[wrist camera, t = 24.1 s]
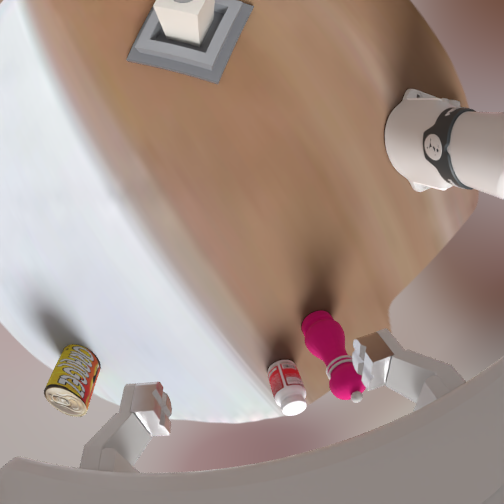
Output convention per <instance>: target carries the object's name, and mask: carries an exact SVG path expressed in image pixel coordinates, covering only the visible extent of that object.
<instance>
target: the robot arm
mask: <svg viewBox="0 0 504 504" xmlns="http://www.w3.org/2000/svg"><path fill="white" fill-rule="evenodd" d="M417 96H418V98H417ZM385 145H386V150H387V154H388V157H389V159H390V161H391V163H392V165H393V166H394V168H395V169H396V170H397V171H398V172H399V173H400V174H401V175H403V176H404V177H405V178H407V179H408V180H409V182H410V184H411V186H412V187H413V189H414V190H415V191H418V192H422V191H424V190H427V189H429V188H431V187H432V188H436V189H440V190H446V189H447V188H450V187H452V186H453V185H454V186H456V187H459V188H463V189H476V190H479V191H482V192H485V193H488V194H490V195H493V196H496V197H498V198H501V199H504V112H476V111H474V110H472V109H469V108H464V107H460V102H459V101H456V100H449V99H446V98H441V99H440V98H437V97H435V96H432V95H429V94H427V93H424V92H421V91H418V90H416V89H408V90H407V91H406V92H405V94H404V97H403V100H402V101H401V103H400V104H398V105H397V106H396V107H395V108H394V109H393V111H392V112H391V114H390V115H389V118H388V120H387V123H386V128H385ZM353 347H354V348H355V351H354V352H353V354H352V361H353V365H354V368H355V370H356V372H357V374H360V375H362V382H363V384H364V386H365V387H366V389H367V391H370V390H373V389H376V388H378V387H381V386H384V385H385V386H386V387H388V388H390V389H392V390H394V391H395V392H397V393H399V394H401V395H403V396H404V397H406V398H408V399H409V400H411V401H413V402H415V403H416V406H415V408H414V410H413V412H412V413H410V414H408V415H405V416H403V417H401V418H399V419H397V420H395V421H392V422H390V423H388V424H386V425H383V426H381V427H379V428H376V429H373V430H371V431H368V432H366V433H363V434H361V435H358V436H355V437H353V438H350V439H347V440H344V441H341V442H338V443H335V444H332V445H329V446H326V447H322V448H319V449H315V450H312V451H309V452H305V453H301V454H297V455H293V456H289V457H285V458H281V459H276V460H271V461H266V462H261V463H256V464H250V465H245V466H238V467H232V468H224V469H215V470H205V471H193V472H176V473H140V472H139V471H138V470H137V469H135V468H134V467H133V466H134V464H135V463H136V461H137V460H138V458H139V457H140V455H141V453H142V452H143V451H144V449H145V448H146V446H147V445H148V443H149V442H150V440H151V439H152V436H163V435H170V433H171V432H170V431H171V422H170V420H169V419H168V418H169V416H170V415H171V411H172V408H171V402H170V399H169V397H168V395H167V394H166V393H164V392H163V386H162V385H161V383H160V382H149V383H137V384H126V385H125V387H124V391H123V395H122V400H121V404H120V409H119V413H116V414H115V415H114V416H113V417H112V418H111V419H110V420H109V421H108V422H107V423H106V424H105V425H104V426H103V427H102V428H101V429H100V430H99V431H98V432H97V433H96V434H95V435H94V437H92V438H91V439H90V441H89V442H87V444H86V445H85V446H84V450H83V454H82V459H81V463H80V468H75V467H68V466H62V465H57V464H52V463H47V462H41V461H37V460H33V459H29V458H26V457H21V456H18V457H15V458H13V459H12V460H10V461H9V462H8V463H7V464H5V465H4V466H3V467H2V468H1V469H0V504H504V356H503V357H502V358H500V359H499V360H498V361H496V362H495V363H494V364H492V365H491V366H489V367H488V368H487V369H485V370H484V371H482V372H481V373H479V374H478V375H477V376H475V377H473V378H472V379H470V380H469V381H467V382H466V381H465V380H464V379H463V378H462V376H461V375H460V374H459V373H458V372H457V371H456V369H455V368H454V367H453V366H452V365H450V364H448V363H444V362H442V361H439V360H436V359H433V358H430V357H427V356H425V355H422V354H419V353H416V352H414V351H411V350H406V351H405V349H404V348H403V347H402V346H401V345H400V344H399V342H398V341H397V340H396V339H395V338H394V336H393V335H392V334H391V333H390V331H389V330H388V329H386V328H385V329H382V330H380V331H377V332H374V333H371V334H368V335H365V336H362V337H359V338H356V339H354V342H353Z"/></svg>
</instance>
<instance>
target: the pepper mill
mask: <svg viewBox="0 0 504 504" xmlns="http://www.w3.org/2000/svg"><path fill="white" fill-rule="evenodd" d="M302 332H303V334H304V336H305V344H306V346H307V348H308V350H309V351H310V352H311V353H312V354H313V355H315V356H316V357H318V358H320V359H321V360H323V361H324V363H325V364H326V366H327V369H326V374H327V376H328V378H329V379H330V382H329V385H330V390H331V392H332V393H333V394H334V395H335V396H336V397H337V398H339V399H342V400H349V399H351V400H352V401H353V402H355V403H357V402H360V401H361V400H362V397H363V395H362V392H363V391H364V390H365V388H366V387H365V386H364V384H363V382H362V375H360V374H357V372H356V370H355V368H354V365H353V361H352V356H349V355H347V353H346V350H345V336H344V331H343V329H342V327H341V325H340V324H339V323H338V322H336V321H334V319H333V318H332V316H331V315H330V314H329V313H328V312H326V311H315V312H313V313H311V314H309V315H308V316H307V317H306V318H305V319H304V321H303V323H302Z"/></svg>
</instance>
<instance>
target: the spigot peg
mask: <svg viewBox="0 0 504 504" xmlns="http://www.w3.org/2000/svg"><path fill="white" fill-rule="evenodd" d="M214 5H215V0H156V2H155V3H154V5H153V7H154V9H155V12H156V14H157V16H158V19H159V21H160V24H161V26H162V28H163V31H164V33H165V35H166V38H167V39H170V40H174V41H179V42H183V43H187V44H191V45H194V46H198V47H200V46H201V43H202V41H203V39H204V37H205V35H206V33H207V31H208V29H209V27H210V25H211V23H212V21H213V18H214Z"/></svg>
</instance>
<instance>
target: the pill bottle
mask: <svg viewBox="0 0 504 504" xmlns="http://www.w3.org/2000/svg"><path fill="white" fill-rule="evenodd" d="M267 374H268V378H269V381H270V385H271V389H272V392H273V396H274V399H275V402H276V403H277V405H279V406H281V410H282V412H283V414H285V415H288V416H292V415H296V414H299V413H301V412H302V411H304V410H305V408H306V406H307V404H306V401H305V397H306V390H305V387H304V385H303V382H302V380H301V377H300V375H299V372H298V370H297V367H296V365H295V363H294V362H292V361H290V360H279V361H277V362H275V363H273V364H272V365H271V366H270V367H269V368H268V372H267Z"/></svg>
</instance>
